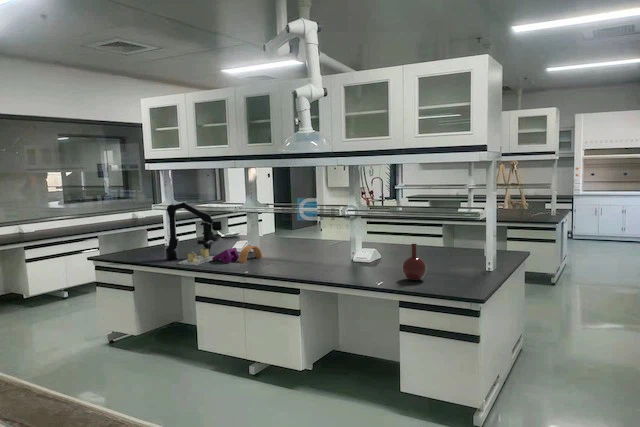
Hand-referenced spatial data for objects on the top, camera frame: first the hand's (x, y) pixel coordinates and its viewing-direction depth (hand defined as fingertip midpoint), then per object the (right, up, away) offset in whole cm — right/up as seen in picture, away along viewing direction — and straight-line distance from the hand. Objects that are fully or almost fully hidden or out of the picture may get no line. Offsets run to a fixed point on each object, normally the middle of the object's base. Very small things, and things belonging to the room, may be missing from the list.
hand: (208, 252), depth 344 cm
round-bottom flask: (+133, -9, -85) cm, 158 cm away
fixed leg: (-7, -4, -18) cm, 20 cm away
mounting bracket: (+15, -6, -15) cm, 22 cm away
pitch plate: (-5, -5, -12) cm, 14 cm away
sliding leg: (-2, -2, -4) cm, 5 cm away
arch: (+33, -5, -13) cm, 36 cm away
